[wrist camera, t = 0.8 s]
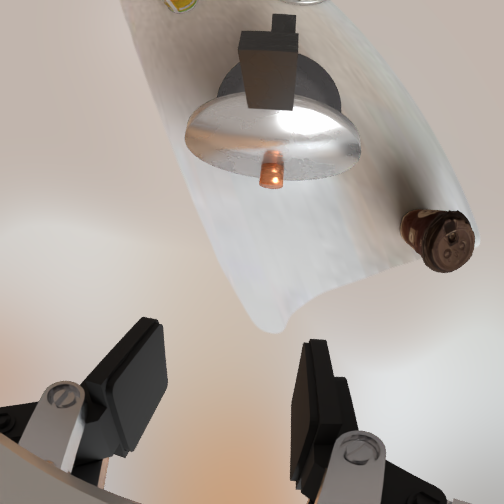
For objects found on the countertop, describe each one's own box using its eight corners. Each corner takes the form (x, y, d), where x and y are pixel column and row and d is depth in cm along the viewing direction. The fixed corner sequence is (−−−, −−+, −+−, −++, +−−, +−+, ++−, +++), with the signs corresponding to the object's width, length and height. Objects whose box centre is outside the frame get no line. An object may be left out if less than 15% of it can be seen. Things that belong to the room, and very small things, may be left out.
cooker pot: (237, 41, 39) (226, 12, 29) (331, 47, 38) (342, 20, 28) (226, 173, 45) (210, 174, 35) (324, 182, 44) (335, 185, 34)
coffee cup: (402, 193, 43) (441, 202, 30) (442, 208, 42) (486, 222, 30) (388, 245, 45) (420, 270, 32) (428, 257, 45) (466, 283, 32)
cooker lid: (340, 177, 34) (339, 203, 33) (207, 165, 35) (203, 190, 35) (413, 55, 12) (423, 99, 12) (132, 41, 13) (115, 81, 13)
